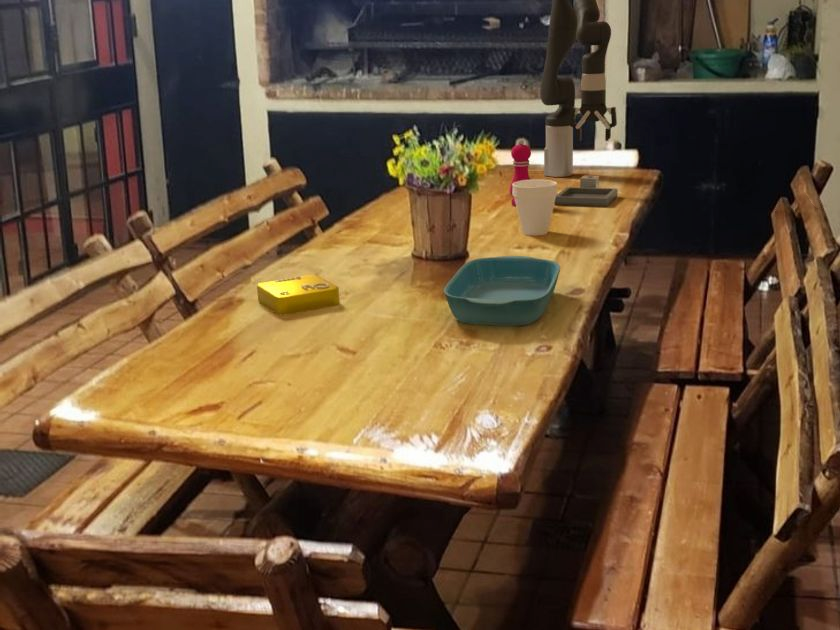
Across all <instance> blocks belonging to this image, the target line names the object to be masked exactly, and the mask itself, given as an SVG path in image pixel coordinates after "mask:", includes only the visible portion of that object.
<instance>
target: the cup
mask: <svg viewBox="0 0 840 630" xmlns="http://www.w3.org/2000/svg"><path fill="white" fill-rule="evenodd" d="M512 186H513V190H512V195H511V196H512V197H513V196H514V199H515V203H516V206H515V207H516V211H517V215H518V219H519V223H520V227H521V231H522V234H523V235H526V236H544V235H547V234H548V232H549V227H550V223H551V220H552V215H553V211H554V206H555V204H554V202H555V198H556V195H558V182H557V181H555V180H550V179H541V178H540V179H539V178H537V179H530V180H522V181H517V182H514V183H513V184H512Z"/></svg>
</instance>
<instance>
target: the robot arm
mask: <svg viewBox="0 0 840 630" xmlns="http://www.w3.org/2000/svg"><path fill="white" fill-rule="evenodd" d="M550 10H551V12H550V19H549V24H548V25H549V26H548V35H547V45H546V46H547V47H546V55H545V56H546V57H545V62H544V68H543V73H542V77H541V83H540V90H539V91H540V100H541V102H542V104H543V105H545V106H547V107H548V106H558V107H557V109H556V110H555V111H554V112H552V113H551V114H549V115H547V116H546V117H545V147H544V149H543V152H544V153H543V154H544V155H543V163H544V164H543V166H544V167H543V172H544V174H543V175H544V177H545V176H546V177H553V178H555V177H556V178H563V177H564V178H565V177H570V176H573V175H574V153H573V152H574V147H573V146H574V142H573V141H574V129H575V138H576V140H577V141H578V142H581V141H582V133H583V131H582V126H583V124H585V122H586V121H587V122H593V121H594V122H599V121H600V122H601V123H602V124H603V126H604V127H605V130H604V131H605V135H604V137H605V138H604V140H605V142H608V141H609V140H610V139H611V137H612V135H611V134H612V133H611V132H612V131H611V129H613V128H615V127H616V126H617V125H618V120H617V107H616V106H612V107H607V102H606V99H607V98H606V96H607V95H606V93H607V91H606V90H607V89H606V88H607V83H606V82H607V79H606V57H607V52H608V48H609V44H610V40H611V37H612V28H611V26H610V23H608V22H607V21H599V20H600V18H601V17H600V16H601V13H600V9H599V6H598V2H597V0H573V5H572V4H571V1H570V0H551V9H550ZM576 40H577V43H578V44H579V45H580V46H585V47H588V46H590V47H591V46H592V47H593V46H597V48H596V49H595V51H593V52H589V53H586V54H583V56H582V59H581V82H580V90H581V91H580V94H581V95H580V97H581V98H580V100H581V101H580V104H581V105H580V107H576V105H575V104H576V103H575V102H576V101H575V100H576V86H575V82H574V80H573V78H572V77H570V76H558V75H559V71H560V68H561V66H562V63H563V62H564V60H565V58H566V57H567V55H569V53H570V52H571V50H572V49H573V46H575V43H576ZM607 112H608V114H609V115H610V118H611V119H610V120H611V123H610V122H609V121H608V119H607V117H606V116H605V115H606V113H607ZM579 113H580V114H581V115H582V117H581V118H580V120H579V121H578V122H577V123H576V118H577V117H576V115H578V114H579Z"/></svg>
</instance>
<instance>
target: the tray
mask: <svg viewBox="0 0 840 630" xmlns="http://www.w3.org/2000/svg"><path fill="white" fill-rule="evenodd" d="M618 190H619V189H618V188H609V187H607V188H604V187H599V188H580V187H579V186H577V187H575V186H572V187H571V186H567V187H565V188H564V189H562V190H561V191H560V192H559V193H557V195H556V198H555V202H554V206H566V207H567V206H568V207H569V206H573V207H600V208H601V207H602V208H606V207H608V206H609V205H610V204H611V203H612V202H613V201H614V200H615V199H617V198H618V194H619V193H618Z"/></svg>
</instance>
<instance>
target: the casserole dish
mask: <svg viewBox="0 0 840 630" xmlns="http://www.w3.org/2000/svg"><path fill="white" fill-rule="evenodd" d="M560 272H561V265H560V264H559V263H558V262H557V261H556V260H555V261H554V260H550V259H544V258H538V257H537V258H536V257H532V256H524V255H502V256H494V257H480V258H475V259H473V260H469V261H468V262H465V263H464V264H463V265H462V266H461V267H460V268H459V269H458V271H457V272H456V273H455V274H454V275H453V277H451V279H450V280H449V281H448V282H447V284H446V285H445V286H444V289H443V294H444V295H445V298H446V301H447V303H448V307H449V308H450V312H451V314H452V315H453V318H455V319H456V320H457V321H459V322H460V323H463V324H466V325H474V326H475V325H477V326H499V327H501V326H505V327H509V326H510V327H515V326H517V327H519V326H527V325H530V324H532V323H534V322H536V321H537V320H538V319H539V318H540V317H542V315H543V314H544V312H545V310H546V308H547V306H548V304H549V302H550V300H551V298H552V296H553V294H554V291H555V288H556V285H557V282H558V278H559V275H560Z"/></svg>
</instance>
